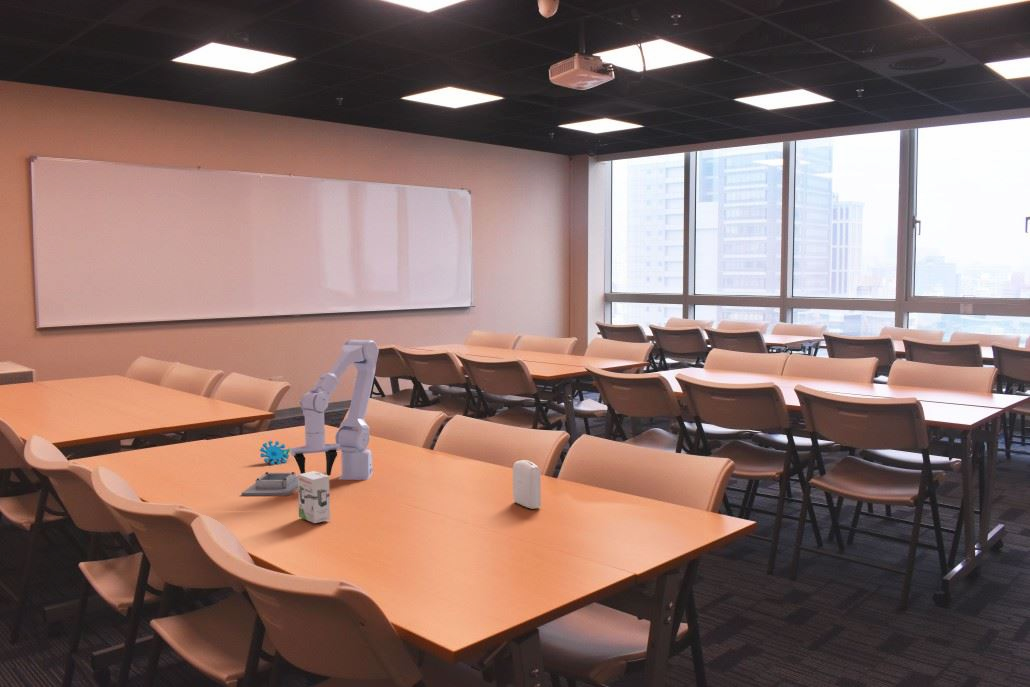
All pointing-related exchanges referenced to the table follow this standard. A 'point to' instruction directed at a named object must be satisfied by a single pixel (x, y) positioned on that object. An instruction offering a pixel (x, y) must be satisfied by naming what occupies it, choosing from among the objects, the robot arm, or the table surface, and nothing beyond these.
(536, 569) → the table surface
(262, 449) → the blue spiky round piece
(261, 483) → the tray
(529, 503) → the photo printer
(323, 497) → the ink box
